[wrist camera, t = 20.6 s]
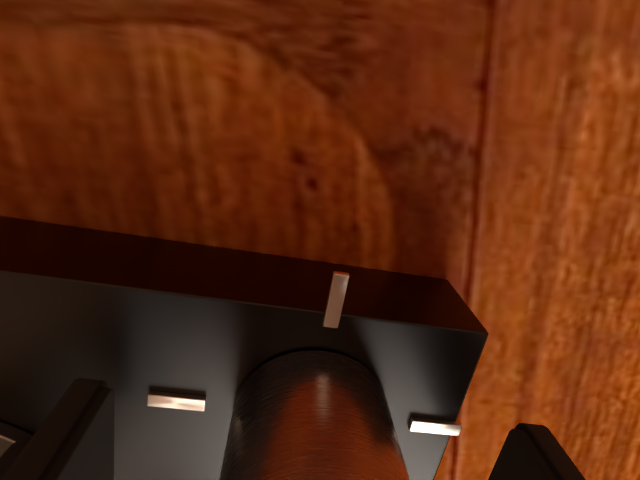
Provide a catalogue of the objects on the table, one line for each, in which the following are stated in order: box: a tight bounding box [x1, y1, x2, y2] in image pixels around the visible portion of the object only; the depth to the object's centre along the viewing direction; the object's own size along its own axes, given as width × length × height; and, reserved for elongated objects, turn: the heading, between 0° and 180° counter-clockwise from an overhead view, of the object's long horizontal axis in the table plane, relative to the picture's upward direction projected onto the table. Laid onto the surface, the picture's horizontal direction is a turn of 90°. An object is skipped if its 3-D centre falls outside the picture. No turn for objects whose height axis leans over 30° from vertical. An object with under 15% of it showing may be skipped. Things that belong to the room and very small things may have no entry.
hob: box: [0, 216, 488, 480], centre depth 13 cm, size 15×18×3 cm
